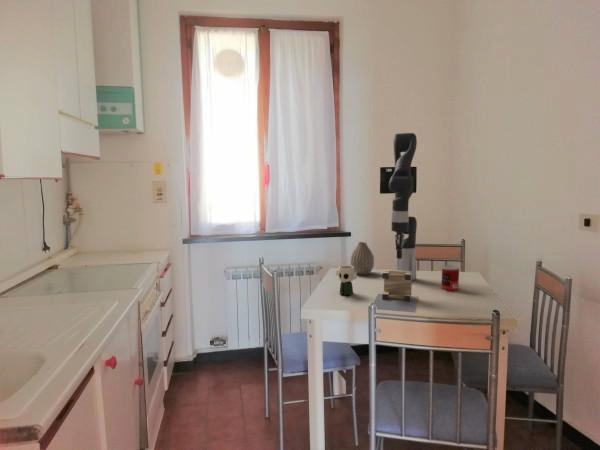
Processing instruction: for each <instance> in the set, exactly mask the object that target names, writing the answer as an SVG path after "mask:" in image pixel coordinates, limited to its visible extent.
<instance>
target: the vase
mask: <svg viewBox="0 0 600 450" xmlns="http://www.w3.org/2000/svg"><path fill="white" fill-rule="evenodd" d="M349 262H350V266H353V267H354V272H356V273H357V276H367V275H369V274H370V273H371V272H372V271H373V269H374V267H375V256H374V253H373V252H372V250H371V248H369V246H368V243H367V242H365V241H359V242H358V244H357V246H356V247H355V249H354V250H353V251H352V254H351V256H350V261H349Z"/></svg>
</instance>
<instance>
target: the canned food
mask: <svg viewBox="0 0 600 450" xmlns="http://www.w3.org/2000/svg"><path fill="white" fill-rule="evenodd" d="M459 276H460V267H459V266H458V265H452V264H450V265H449V264H448V265H443V266H442V267H441V289H442V290H443V291H446V292H457V291H458V290H459V283H460V281H459V280H460V277H459Z"/></svg>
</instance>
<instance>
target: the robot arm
mask: <svg viewBox="0 0 600 450" xmlns="http://www.w3.org/2000/svg"><path fill="white" fill-rule="evenodd" d="M417 140H418V139H417V136H416V134H415V133H414V132H407V133H406V132H404V133H403V132H402V133H395V134H394V135H393V157H394V172H393V174H392V175H391V177H390V179H389V181H388V189H389V191H391V192H392V193H394V198H393V199H392V212H391V229H390V230H391V231H392V232H395V233H396V234H395V235H394V241H395V250H396V270H400V271H412V282H414V281H415V280H417V261H416V244H417V243H416V242H417V241H416V239H417V237H416V236H417V227H418V223H417V218H416V217H415V216H409V203H410V199H411V197H412V195H413V192H414V176H413V174H412V173H411V168H412V162H413V159H414V156H415V153H416V150H417V146H418V145H417V144H418V143H417V142H418V141H417ZM401 153H403V154H402V155H401ZM405 235H408V236H407V237H405Z"/></svg>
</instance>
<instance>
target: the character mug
mask: <svg viewBox="0 0 600 450" xmlns="http://www.w3.org/2000/svg"><path fill="white" fill-rule="evenodd" d="M335 272H336V275H335V276H337V277H338V280H339V281H340V285H339V294H340V295H345V296H350V295H352V294H353V293H354V287H353V283H352V282H353V281H354V280H357V276H358V274H357V273H356V272H354V267H353V266H351V265H347V264H346V265H340V266H338V269H336V271H335Z"/></svg>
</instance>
